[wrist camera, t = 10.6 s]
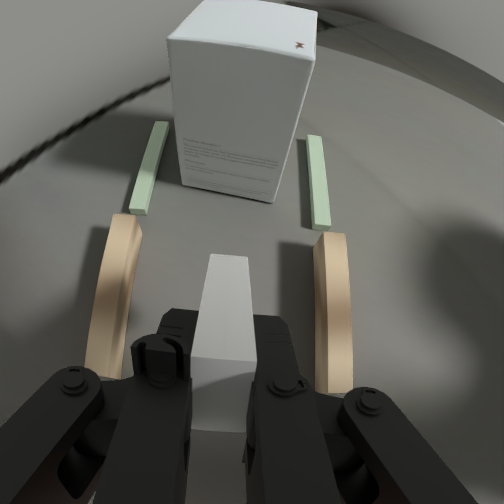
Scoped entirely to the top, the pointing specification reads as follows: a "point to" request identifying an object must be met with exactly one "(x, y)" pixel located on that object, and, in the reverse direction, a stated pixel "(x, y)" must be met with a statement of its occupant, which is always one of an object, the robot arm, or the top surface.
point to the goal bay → (154, 153)
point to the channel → (326, 306)
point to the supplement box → (239, 92)
